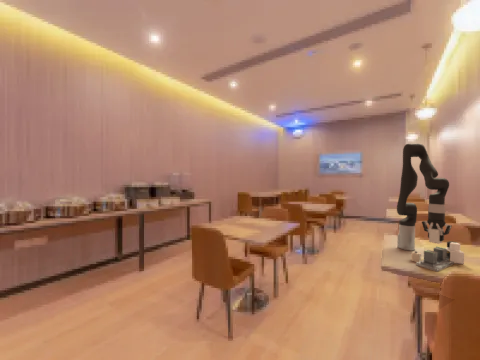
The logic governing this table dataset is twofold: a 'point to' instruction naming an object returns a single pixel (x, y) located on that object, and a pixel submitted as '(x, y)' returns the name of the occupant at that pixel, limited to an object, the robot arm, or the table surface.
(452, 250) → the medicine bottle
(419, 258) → the block
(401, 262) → the table surface
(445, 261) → the board
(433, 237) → the block
